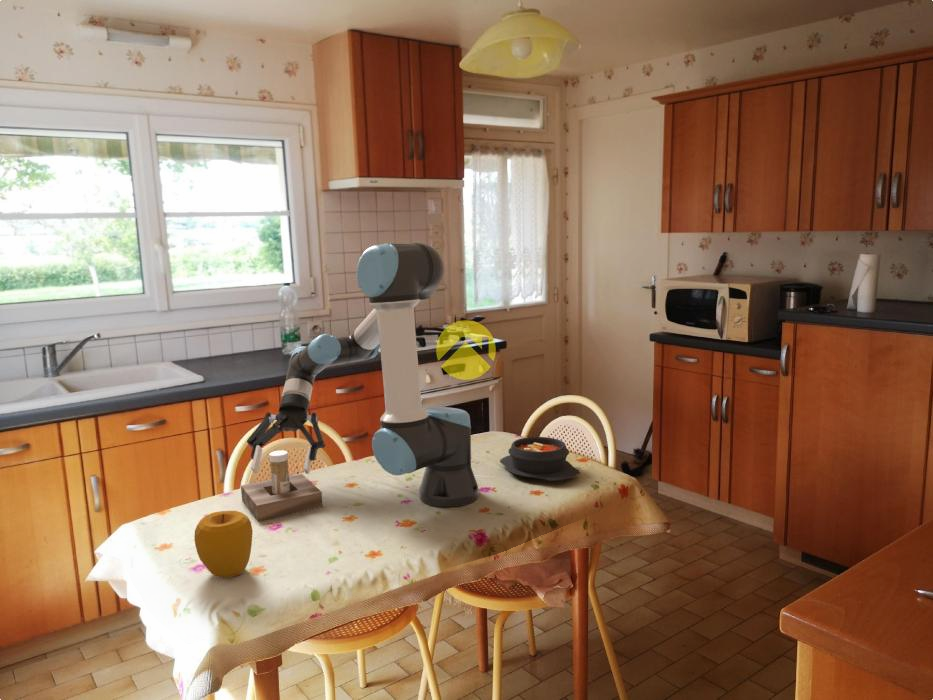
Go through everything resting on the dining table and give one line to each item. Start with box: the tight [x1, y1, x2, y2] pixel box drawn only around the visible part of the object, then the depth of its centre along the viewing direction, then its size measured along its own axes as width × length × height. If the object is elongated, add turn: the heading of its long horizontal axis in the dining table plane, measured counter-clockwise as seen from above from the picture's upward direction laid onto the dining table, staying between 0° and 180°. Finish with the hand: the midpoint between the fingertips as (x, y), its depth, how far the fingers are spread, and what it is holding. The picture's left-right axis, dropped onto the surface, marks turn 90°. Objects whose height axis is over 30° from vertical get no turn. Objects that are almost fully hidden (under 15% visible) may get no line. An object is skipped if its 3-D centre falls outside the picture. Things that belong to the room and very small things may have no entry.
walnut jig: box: [240, 473, 324, 522], centre depth 177 cm, size 16×16×4 cm
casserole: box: [499, 436, 581, 482], centre depth 196 cm, size 25×19×8 cm
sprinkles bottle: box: [268, 450, 290, 495], centre depth 177 cm, size 5×5×14 cm
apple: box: [193, 510, 253, 579], centre depth 140 cm, size 11×11×13 cm
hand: (280, 471), depth 177 cm, fingers open, 13 cm apart
